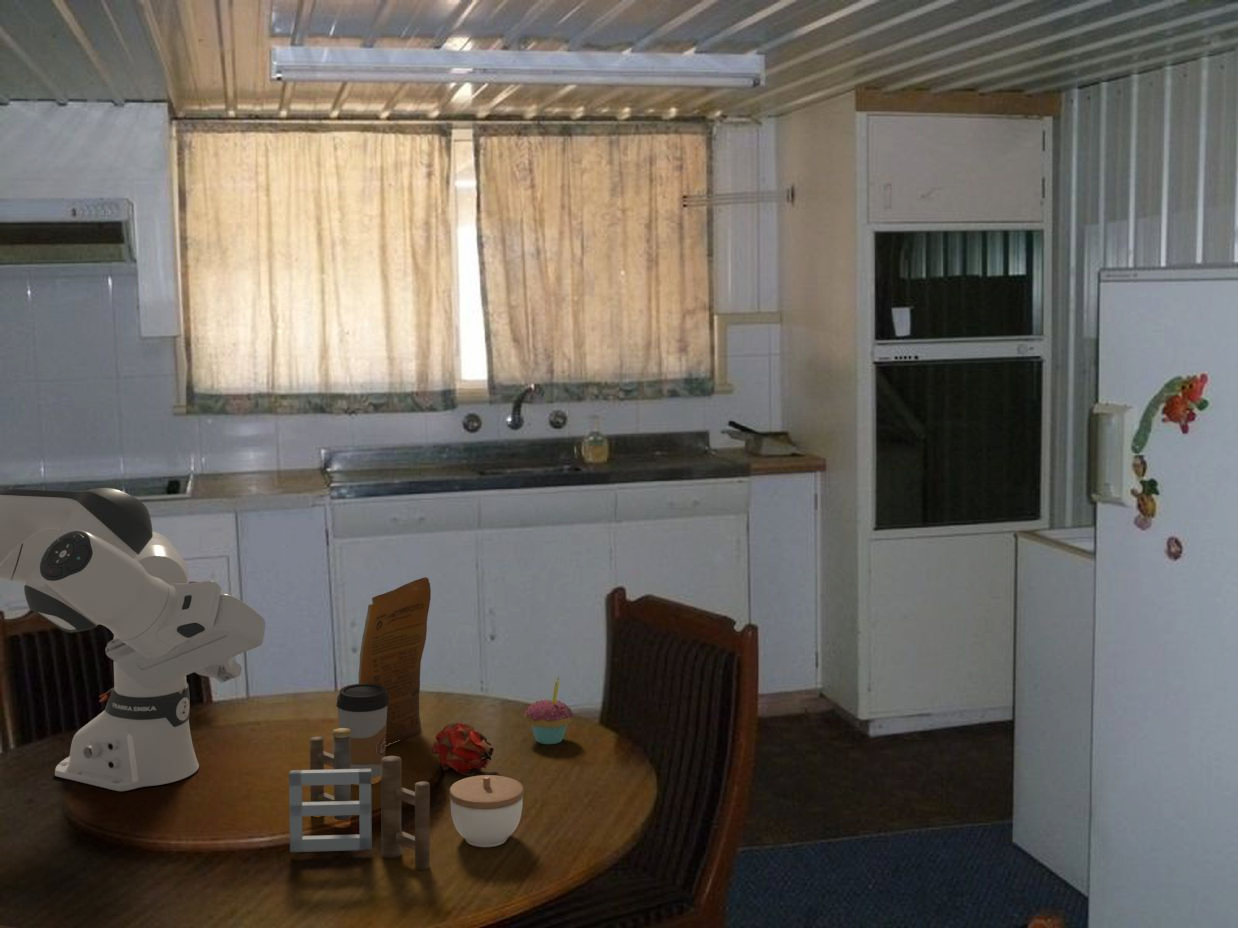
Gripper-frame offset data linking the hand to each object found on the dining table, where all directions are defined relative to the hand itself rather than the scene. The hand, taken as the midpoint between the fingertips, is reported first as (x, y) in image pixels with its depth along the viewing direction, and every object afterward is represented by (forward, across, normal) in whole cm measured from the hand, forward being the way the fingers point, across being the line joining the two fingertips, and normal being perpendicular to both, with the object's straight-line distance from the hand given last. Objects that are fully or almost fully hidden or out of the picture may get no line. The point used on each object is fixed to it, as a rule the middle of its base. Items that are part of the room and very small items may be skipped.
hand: (232, 674), depth 180 cm
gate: (+28, -4, -11) cm, 31 cm away
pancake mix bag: (+56, -18, +25) cm, 64 cm away
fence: (+34, -3, -8) cm, 35 cm away
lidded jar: (+44, +11, -8) cm, 46 cm away
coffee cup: (+45, -14, +10) cm, 48 cm away
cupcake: (+71, +5, +25) cm, 75 cm away
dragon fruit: (+56, -2, +14) cm, 57 cm away
